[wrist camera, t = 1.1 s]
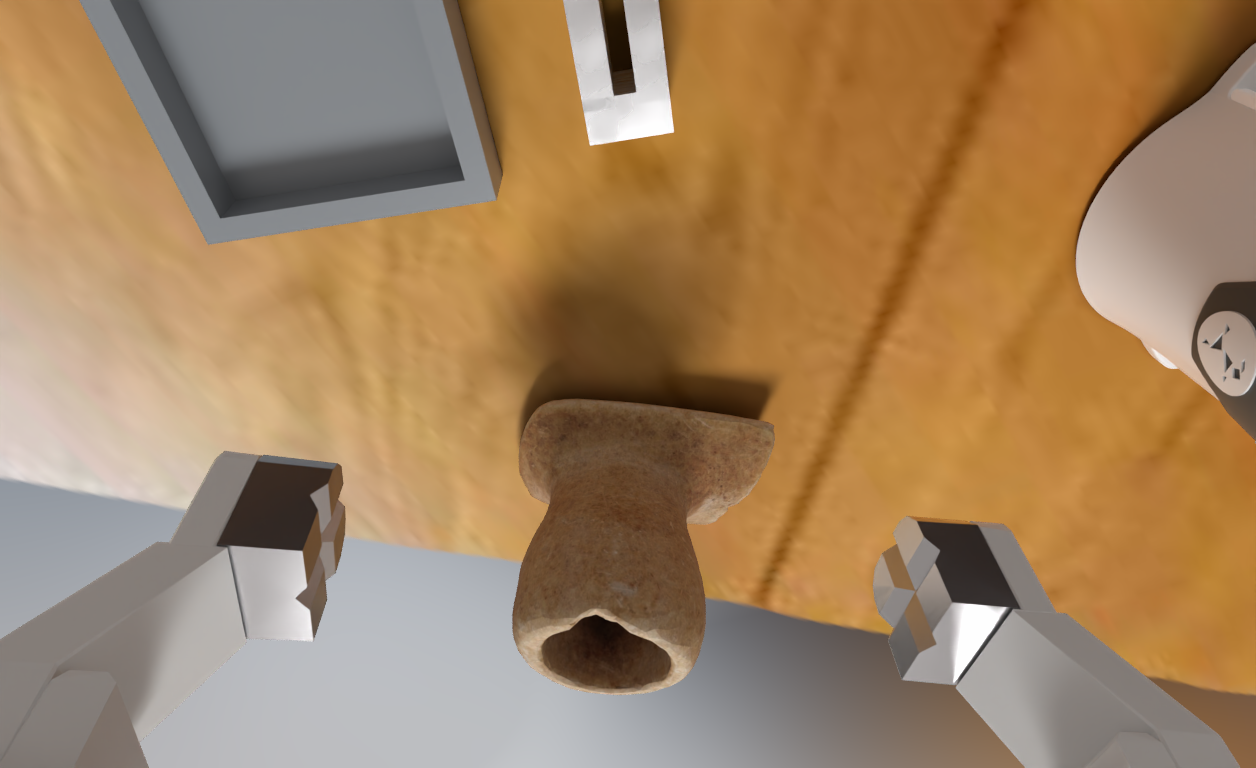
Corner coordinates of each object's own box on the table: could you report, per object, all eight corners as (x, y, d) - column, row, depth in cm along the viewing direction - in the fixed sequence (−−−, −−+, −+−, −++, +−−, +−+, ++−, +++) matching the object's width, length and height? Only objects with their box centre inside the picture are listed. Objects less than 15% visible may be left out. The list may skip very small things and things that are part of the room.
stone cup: (510, 507, 55) (485, 711, 43) (530, 370, 48) (506, 568, 36) (723, 531, 57) (755, 731, 45) (772, 403, 50) (825, 601, 38)
